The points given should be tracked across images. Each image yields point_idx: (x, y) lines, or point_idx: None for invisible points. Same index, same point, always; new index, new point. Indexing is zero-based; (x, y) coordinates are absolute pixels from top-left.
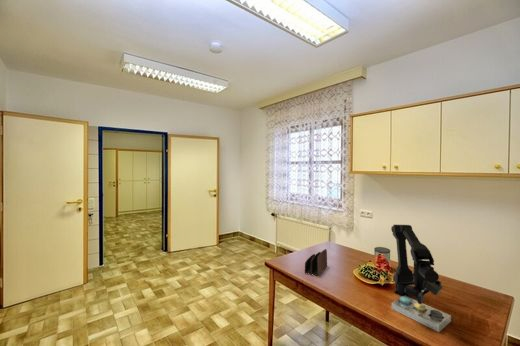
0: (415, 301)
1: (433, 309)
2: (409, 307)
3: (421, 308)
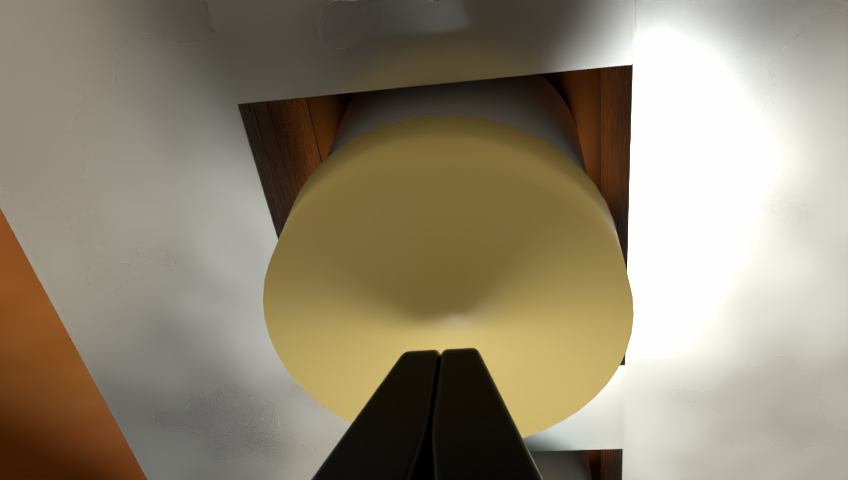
0: (202, 456)
1: (9, 19)
2: (656, 405)
3: (589, 211)
